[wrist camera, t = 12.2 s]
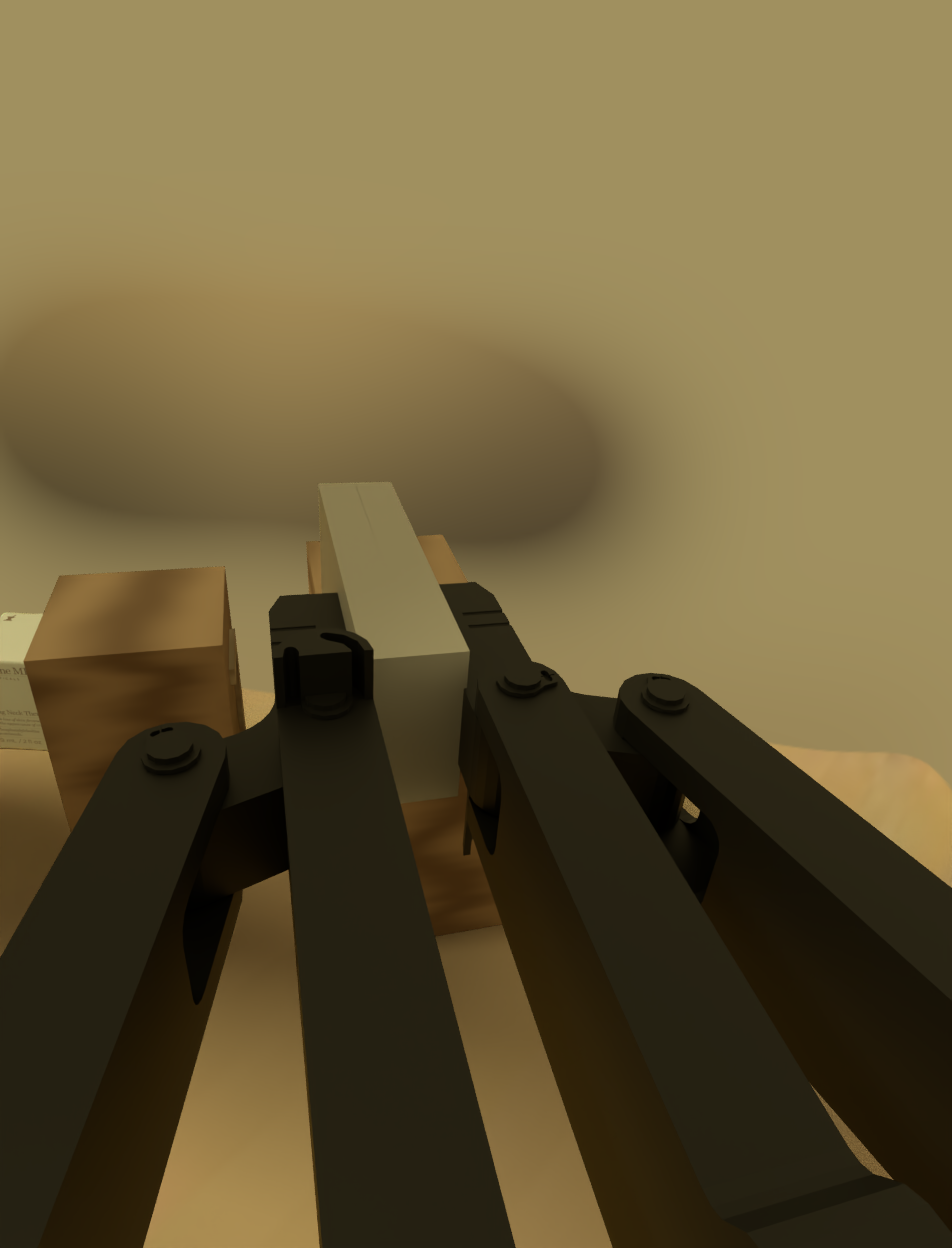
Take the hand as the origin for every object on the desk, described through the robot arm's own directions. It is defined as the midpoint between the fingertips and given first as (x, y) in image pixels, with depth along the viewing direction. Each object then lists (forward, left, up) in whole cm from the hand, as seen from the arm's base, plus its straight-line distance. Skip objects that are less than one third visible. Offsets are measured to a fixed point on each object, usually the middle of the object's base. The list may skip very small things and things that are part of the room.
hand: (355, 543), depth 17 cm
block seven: (-23, +11, -28) cm, 38 cm away
